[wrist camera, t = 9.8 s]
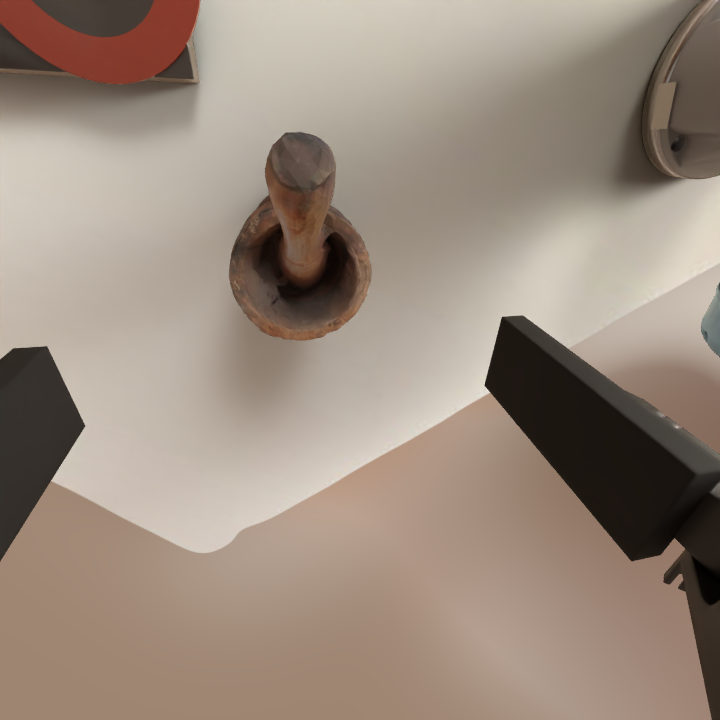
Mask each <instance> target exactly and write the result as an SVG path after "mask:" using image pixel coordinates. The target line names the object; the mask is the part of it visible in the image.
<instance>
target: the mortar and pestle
mask: <svg viewBox="0 0 720 720" xmlns="http://www.w3.org/2000/svg"><path fill="white" fill-rule="evenodd" d="M335 171H336V163H335V159H334V156H333V153H332V151H331V149H330V147H329V146H328V145H327V144H326V143H325V142H324V141H322V140H321V139H320V138H318V137H316V136H313V135H310V134H306V133H301V132H298V133H285V134H284V135H283V136H282V137H281V138H280V139H279V140H278V141H277V142H276V143H275V144H273V145H272V148H271V150H270V152H269V155H268V157H267V163H266V168H265V177H266V182H267V186H268V190H269V196H267V197H266V198H265V199H264V200H263V201H262V202H261V203H260V204H259V206H258V208H257V210H255V211H254V212H253V213H252V214H251V216H250V217H249V218H248V219H247V221H246V222H245V224H244V226H243V228H242V229H241V231H240V233H239V235H238V237H237V239H236V241H235V244H234V247H233V250H232V254H231V260H230V268H229V279H230V284H231V288H232V291H233V294H234V297H235V299H236V301H237V303H238V304H239V306H240V307H241V309H242V310H243V312H244V313H245V314H246V315H247V317H248V318H249V319H250V320H251V321H252V322H253V323H254V324H255V325H256V326H257V327H258V328H259V329H260V330H261V331H262V332H264V333H266V334H268V335H271V336H274V337H281V338H283V339H290V340H310V339H315V338H320V337H323V336H325V335H326V334H327V333H329V332H332V331H335V330H338V329H339V328H340V327H341V326H342V325H344V324H345V323H346V322H348V321H349V320H350V319H351V318H352V317H353V316H354V315H355V314H356V313H357V311H358V310H359V308H360V307H361V305H362V303H363V302H364V300H365V298H366V296H367V292H368V288H369V285H370V281H371V265H370V262H369V256H368V252H367V251H366V248H365V245H364V242H363V240H362V238H361V236H360V235H359V234H358V233H357V232H356V230H355V229H354V227H353V226H352V225H351V223H350V222H349V221H348V220H347V219H346V218H345V217H344V216H343V215H342V214H341V213H340V212H339V211H338V210H336V209H335V208H333V207H332V206H330V203H331V200H332V197H333V192H334V187H335Z"/></svg>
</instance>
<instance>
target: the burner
mask: <svg viewBox="0 0 720 720" xmlns="http://www.w3.org/2000/svg"><path fill="white" fill-rule="evenodd" d="M199 9H200V0H0V23H1V24H2V25H3V26H4V27H5V28H6V29H7V30H8V31H9V32H10V33H11V34H12V35H13V36H14V37H15V38H16V39H18V40H19V41H20V42H21V43H22V44H24V45H25V46H26V47H28V48H29V49H30V50H31V51H33V52H34V53H35V54H37V55H38V56H40V57H41V58H43V59H44V60H46V61H48V62H49V63H51V64H52V65H54V66H56V67H58V68H60V69H62V70H64V71H66V72H68V73H71V74H73V75H76V76H78V77H81V78H84V79H88V80H91V81H95V82H99V83H107V84H132V83H137V82H142V81H145V80H147V79H150V78H153V77H155V76H156V75H158V74H160V73H162V72H163V71H165V70H166V69H167V68H168V67H170V66H171V65H172V64H173V63H174V62H175V61H176V60H177V59H178V57H179V56H180V55H181V54H182V52H183V51H184V49H185V47H186V46H187V44H188V42H189V41H190V38H191V36H192V33H193V31H194V28H195V26H196V22H197V18H198V14H199Z"/></svg>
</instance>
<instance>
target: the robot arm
mask: <svg viewBox="0 0 720 720" xmlns="http://www.w3.org/2000/svg"><path fill="white" fill-rule="evenodd" d="M642 137H643V143H644V147H645V151H646V153H647V156H648V158H649V160H650V161H651V163H652V164H653V165H654V166H655V167H656V168H657V169H658V170H659V171H661V172H662V173H664V174H666V175H669V176H673V177H680V178H689V179H705V178H711V177H714V176H719V175H720V0H702V1H701V2H700V3H699V4H698V5H697V6H696V7H695V8H694V9H693V10H692V11H691V13H690V14H689V15H688V16H687V17H686V18H685V20H684V21H683V22H682V24H681V25H680V26H679V28H678V29H677V31H676V32H675V34H674V35H673V37H672V38H671V40H670V41H669V43H668V45H667V46H666V48H665V50H664V52H663V54H662V56H661V58H660V60H659V62H658V64H657V66H656V68H655V71H654V73H653V76H652V79H651V81H650V84H649V88H648V91H647V95H646V99H645V103H644V109H643V117H642ZM701 332H702V335H703V337H704V339H705V341H706V342H707V343H708V345H709V346H710V348H711V349H712V350H713V351H714V352H715V353H716V354H717V355H718V356H719V357H720V283H719V285H718V286H717V289H716V295H715V296H714V299H713V300H712V302H711V304H710V306H709V308H708V310H707V312H706V313H705V315H704V317H703V319H702V323H701ZM485 387H486V388H487V389H488V390H489V391H490V392H491V394H492V395H493V396H494V397H495V398H496V400H497V401H498V402H499V403H500V404H501V406H502V407H503V408H504V409H505V410H506V412H507V413H508V414H509V415H510V416H511V418H512V419H513V420H514V421H515V422H516V424H517V425H518V426H519V427H520V428H521V429H522V431H523V432H524V433H525V434H526V436H527V437H528V438H529V439H530V440H531V442H532V443H533V444H534V445H535V446H536V448H537V449H538V450H539V451H540V452H541V454H542V455H543V456H544V457H545V458H546V460H547V461H548V462H549V463H550V464H551V466H552V467H553V468H554V469H555V470H556V471H557V473H558V474H559V475H560V476H561V478H562V479H563V480H564V481H565V482H566V483H567V485H568V486H569V487H570V488H571V489H572V491H573V492H574V493H575V494H576V495H577V497H578V498H579V499H580V500H581V501H582V503H583V504H584V505H585V506H586V507H587V509H588V510H589V511H590V512H591V513H592V515H593V516H594V517H595V518H596V519H597V521H598V522H599V523H600V524H601V525H602V527H603V528H604V529H605V530H606V531H607V533H609V535H610V536H611V537H612V539H613V540H614V541H615V542H616V543H617V544H618V546H619V547H620V548H621V549H622V550H623V552H624V553H625V554H626V555H627V556H628V558H629V559H630V560H631V561H635V560H640V559H644V558H649V557H654V556H658V555H661V554H662V553H663V551H664V550H665V549H666V548H667V546H668V545H669V544H670V542H671V541H672V540H673V539H674V538H675V539H676V540H677V541H678V542H680V544H681V545H682V546H683V547H685V550H684V551H683V553H682V554H681V555H680V556H679V557H678V559H677V560H676V561H675V562H674V563H673V565H672V566H671V567H670V568H669V569H668V570H667V571H666V573H665V574H664V581H663V582H664V583H666V584H671V582H672V581H673V580H674V579H675V578H676V577H677V576H678V574H682V575H683V581H682V583H681V584H680V585H679V587H678V589H680V590H683V591H685V592H686V595H687V600H688V605H689V609H690V614H691V619H692V624H693V629H694V634H695V639H696V644H697V649H698V654H699V659H700V664H701V668H702V673H703V678H704V683H705V688H706V693H707V698H708V703H709V708H710V713H711V717H712V720H720V454H719V453H717V452H716V451H714V450H713V449H712V448H710V447H709V446H708V445H706V444H705V443H703V442H702V441H701V440H699V439H698V438H696V437H695V436H694V435H692V434H691V433H690V432H688V431H687V430H685V429H684V428H679V425H678V424H677V423H676V422H674V421H673V420H672V419H670V418H669V417H667V416H665V417H664V416H663V413H662V412H660V411H659V410H658V409H656V408H655V407H654V406H652V405H651V404H649V403H648V402H647V401H645V400H644V399H641V398H639V397H637V396H635V395H633V394H631V393H629V392H627V391H625V390H623V389H622V388H620V387H619V386H618V385H616V384H615V383H614V382H612V381H611V380H610V379H608V378H607V377H606V376H604V375H603V374H601V373H600V372H599V371H597V370H596V369H595V368H593V367H592V366H591V365H589V364H588V363H587V362H585V361H584V360H582V359H581V358H580V357H578V356H577V355H576V354H574V353H573V352H572V351H570V350H569V349H568V348H566V347H565V346H563V345H562V344H561V343H559V342H558V341H557V340H555V339H554V338H553V337H551V336H550V335H549V334H547V333H546V332H544V331H543V330H542V329H540V328H539V327H538V326H536V325H535V324H534V323H532V322H531V321H530V320H528V319H527V318H526V317H524V316H509V317H502V319H501V323H500V327H499V330H498V334H497V338H496V342H495V346H494V350H493V354H492V358H491V362H490V366H489V370H488V374H487V378H486V381H485ZM84 427H85V424H84V422H83V420H82V418H81V416H80V414H79V412H78V410H77V408H76V406H75V404H74V402H73V399H72V397H71V395H70V393H69V391H68V389H67V387H66V385H65V383H64V381H63V379H62V377H61V374H60V372H59V370H58V368H57V366H56V364H55V362H54V360H53V358H52V356H51V354H50V352H49V349H48V347H47V346H46V347H30V348H15V349H12V350H11V351H10V352H9V353H7V354H6V355H5V356H4V357H3V358H2V359H0V561H1V559H2V558H3V556H4V555H5V552H6V551H7V550H8V548H9V547H10V545H11V543H12V542H13V540H14V539H15V537H16V535H17V534H18V532H19V531H20V529H21V528H22V526H23V524H24V523H25V521H26V519H27V518H28V516H29V515H30V513H31V511H32V510H33V508H34V507H35V505H36V504H37V502H38V500H39V499H40V497H41V496H42V494H43V492H44V491H45V489H46V488H47V486H48V484H49V483H50V481H51V480H52V478H53V477H54V475H55V473H56V472H57V470H58V469H59V467H60V465H61V464H62V462H63V461H64V459H65V457H66V456H67V454H68V453H69V451H70V450H71V448H72V446H73V445H74V443H75V442H76V440H77V438H78V437H79V435H80V434H81V432H82V430H83V429H84Z"/></svg>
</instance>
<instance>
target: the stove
mask: <svg viewBox="0 0 720 720" xmlns="http://www.w3.org/2000/svg"><path fill="white" fill-rule="evenodd" d="M0 72H3V73H21V74H39V75H57V76H75V77H78V76H76V75H73V74H71V73H68V72H66V71H64V70H62V69H60V68H58V67H56V66H54V65H52V64H51V63H49V62H48V61H46V60H44V59H43V58H41V57H40V56H38V55H37V54H35V53H34V52H33V51H31V50H30V49H29V48H28V47H26V46H25V45H24V44H22V43H21V42H20V41H19V40H18V39H16V38H15V37H14V36H13V35H12V34H11V33H10V32H9V31H8V30H7V29H6V28H5V27H4V26H3V25H2V24H1V23H0ZM147 80H148V81H166V82H184V83H200V80H199V74H198V67H197V61H196V55H195V48H194V42H193V36H191V38H190V41H189V42H188V44H187V46H186V47H185V49H184V51H183V52H182V54H181V55H180V56H179V57H178V59H177V60H176V61H175V62H174V63H173V64H172V65H171V66H170V67H168V68H167V69H166V70H165V71H163V72H162V73H160V74H158V75H156V76H155V77H153V78H150V79H147Z"/></svg>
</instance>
